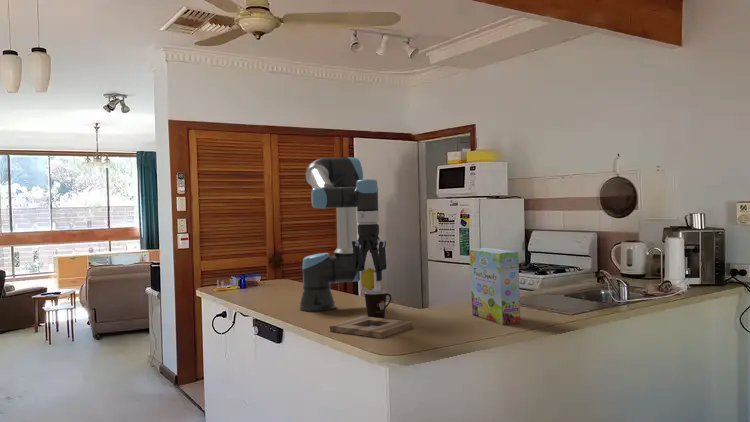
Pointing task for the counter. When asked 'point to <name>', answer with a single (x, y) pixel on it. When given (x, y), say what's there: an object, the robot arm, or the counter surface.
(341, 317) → the counter surface
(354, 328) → the pocket board
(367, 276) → the lemon
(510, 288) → the snack box
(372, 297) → the coffee mug
